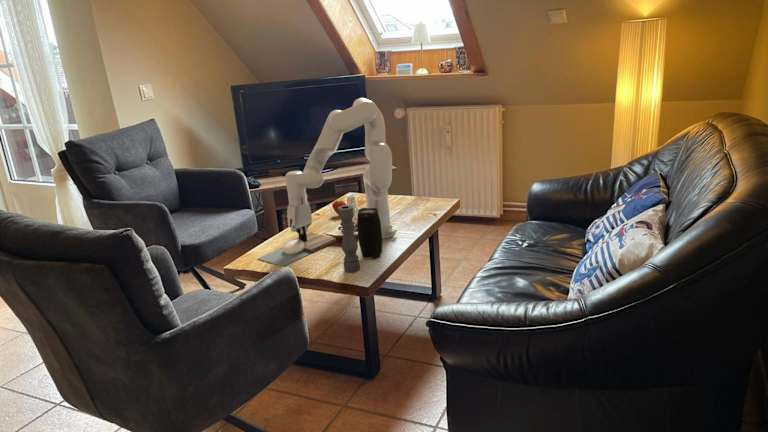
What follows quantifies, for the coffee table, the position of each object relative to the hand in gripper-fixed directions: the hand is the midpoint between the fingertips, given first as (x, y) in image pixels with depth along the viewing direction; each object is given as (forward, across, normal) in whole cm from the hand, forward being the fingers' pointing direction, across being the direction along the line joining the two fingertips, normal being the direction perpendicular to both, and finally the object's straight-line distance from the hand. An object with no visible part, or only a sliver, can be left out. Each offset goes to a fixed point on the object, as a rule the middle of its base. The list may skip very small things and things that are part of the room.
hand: (303, 241), depth 238 cm
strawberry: (+3, -39, -16) cm, 43 cm away
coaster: (+2, +6, 0) cm, 6 cm away
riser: (+3, -4, 0) cm, 5 cm away
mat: (+3, +12, 0) cm, 12 cm away
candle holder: (+3, +7, +35) cm, 36 cm away
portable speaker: (+3, -7, +33) cm, 34 cm away
